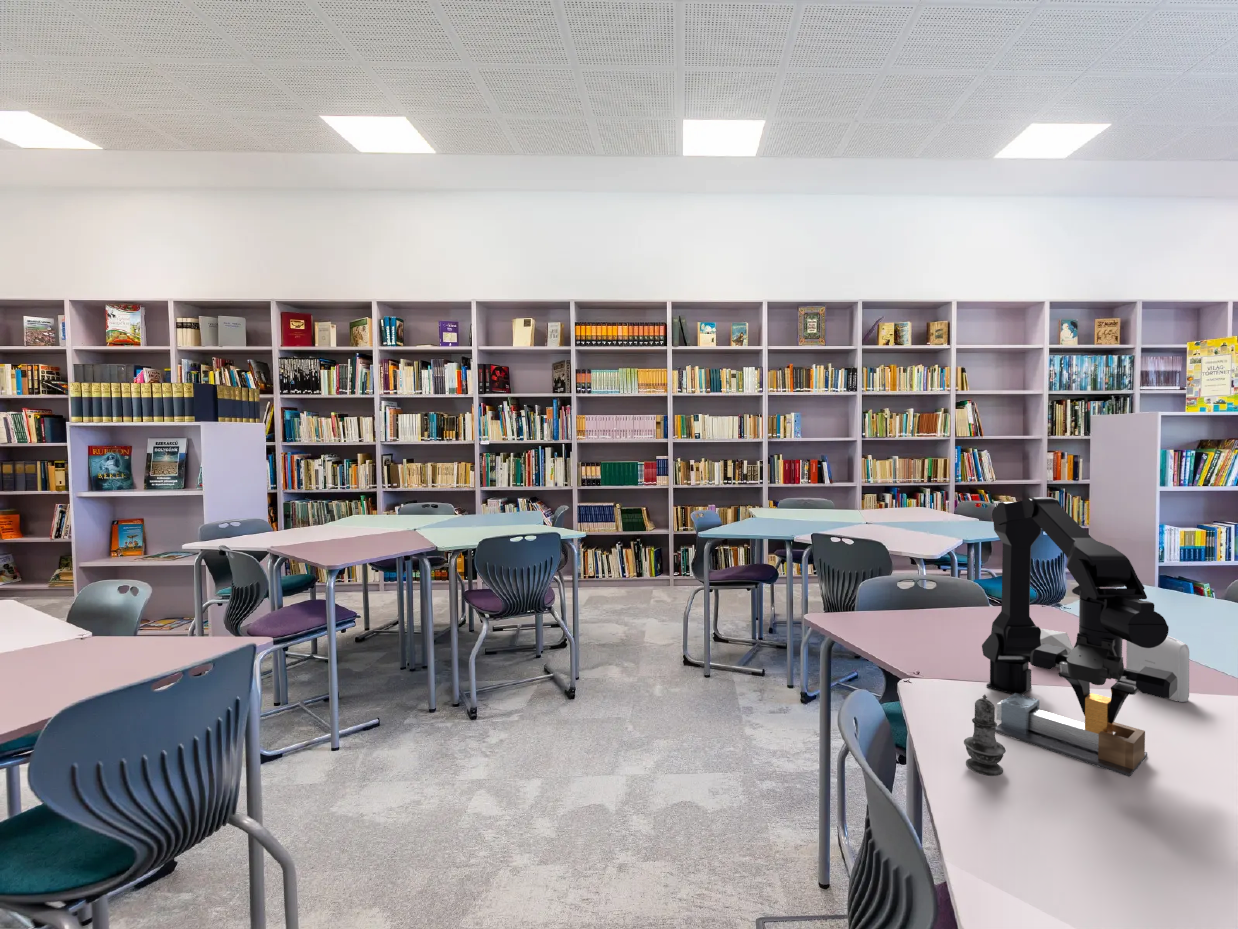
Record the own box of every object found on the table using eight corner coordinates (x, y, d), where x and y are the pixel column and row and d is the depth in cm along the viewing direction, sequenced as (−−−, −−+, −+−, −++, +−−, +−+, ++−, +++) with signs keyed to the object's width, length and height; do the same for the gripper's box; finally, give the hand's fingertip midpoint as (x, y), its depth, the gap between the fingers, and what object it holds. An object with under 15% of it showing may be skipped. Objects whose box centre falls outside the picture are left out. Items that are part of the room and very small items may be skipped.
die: (1024, 659, 149) (1020, 634, 144) (1052, 640, 149) (1049, 614, 145) (1055, 683, 142) (1052, 657, 137) (1085, 663, 142) (1083, 636, 138)
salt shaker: (1000, 760, 102) (1001, 689, 102) (1010, 779, 97) (1010, 704, 96) (960, 755, 104) (960, 685, 104) (967, 773, 98) (968, 699, 98)
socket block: (1098, 758, 101) (1098, 733, 101) (1110, 745, 105) (1111, 721, 105) (1133, 769, 98) (1133, 743, 97) (1144, 756, 102) (1145, 730, 101)
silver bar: (996, 719, 115) (997, 674, 114) (1003, 714, 117) (1003, 670, 116) (1110, 755, 101) (1111, 704, 101) (1115, 749, 103) (1116, 699, 103)
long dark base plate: (993, 731, 112) (994, 704, 112) (1015, 715, 118) (1016, 689, 118) (1129, 777, 97) (1130, 745, 96) (1147, 756, 103) (1147, 726, 102)
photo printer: (1121, 685, 131) (1122, 627, 131) (1135, 682, 133) (1136, 625, 132) (1179, 704, 121) (1181, 642, 121) (1193, 701, 123) (1194, 639, 122)
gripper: (1018, 624, 105) (1017, 714, 106) (1160, 653, 91) (1158, 757, 91) (1042, 611, 112) (1041, 696, 113) (1179, 637, 97) (1177, 734, 98)
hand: (1098, 719), depth 104 cm, fingers closed on silver bar, 3 cm apart
